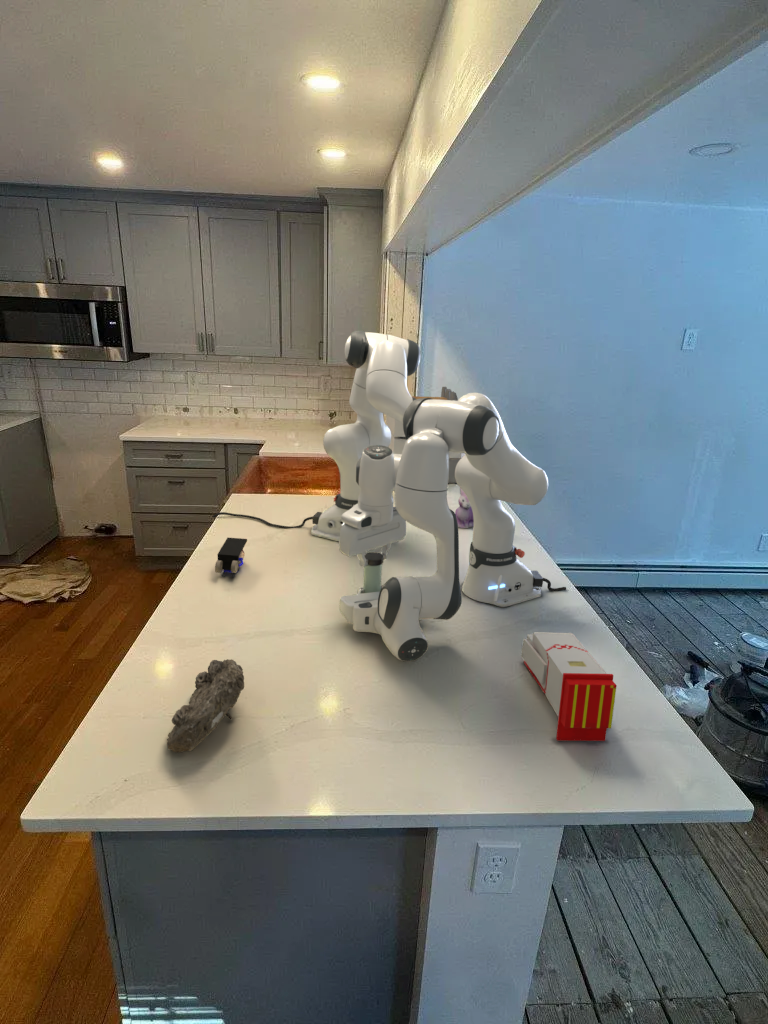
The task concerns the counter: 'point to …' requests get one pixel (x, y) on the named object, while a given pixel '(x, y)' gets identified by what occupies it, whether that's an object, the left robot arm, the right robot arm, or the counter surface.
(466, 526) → the figurine
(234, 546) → the figurine character
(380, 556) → the lid
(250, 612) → the counter surface
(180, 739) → the fossil
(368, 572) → the jar
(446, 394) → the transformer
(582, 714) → the toy
